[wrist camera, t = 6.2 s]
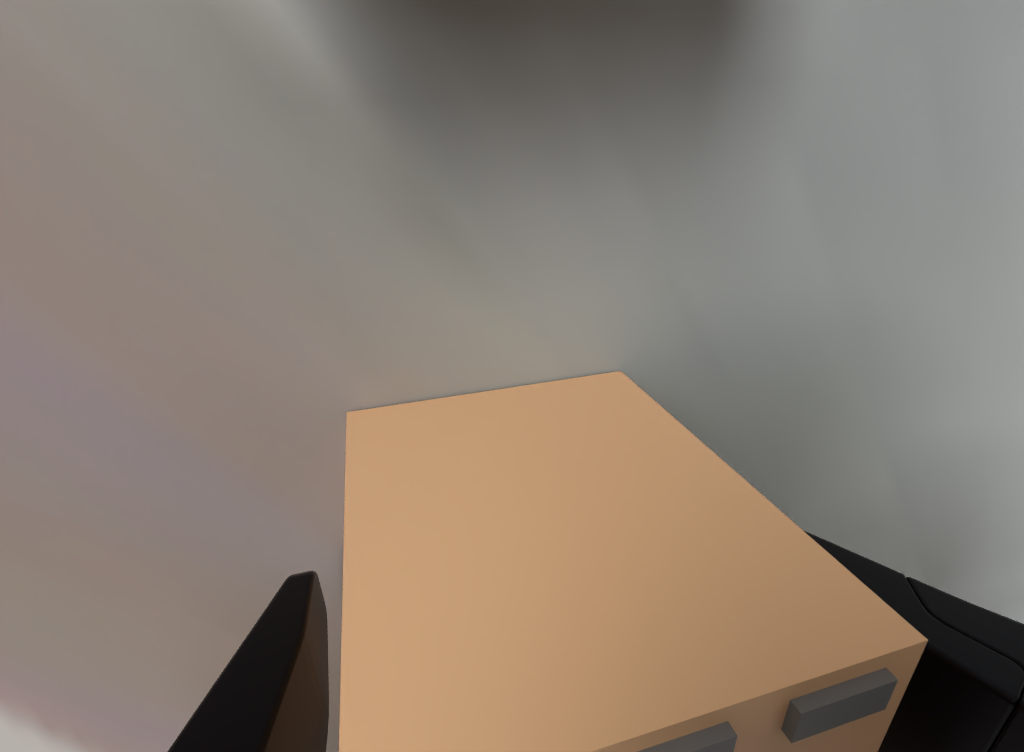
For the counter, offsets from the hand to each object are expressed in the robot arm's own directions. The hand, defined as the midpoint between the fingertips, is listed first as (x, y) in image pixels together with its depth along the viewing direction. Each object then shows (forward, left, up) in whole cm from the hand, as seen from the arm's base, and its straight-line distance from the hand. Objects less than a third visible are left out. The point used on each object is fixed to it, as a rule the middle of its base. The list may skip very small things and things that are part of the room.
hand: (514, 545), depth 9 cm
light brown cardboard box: (0, 0, -1) cm, 1 cm away
